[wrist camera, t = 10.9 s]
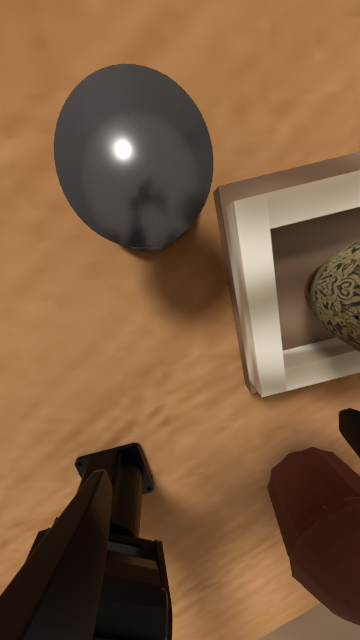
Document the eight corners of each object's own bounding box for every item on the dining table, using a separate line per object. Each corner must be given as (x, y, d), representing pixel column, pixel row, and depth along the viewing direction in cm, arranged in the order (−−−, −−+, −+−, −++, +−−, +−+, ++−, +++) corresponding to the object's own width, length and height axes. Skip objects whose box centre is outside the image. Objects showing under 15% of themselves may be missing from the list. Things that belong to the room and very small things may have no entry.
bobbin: (201, 239, 17) (225, 228, 11) (115, 260, 17) (87, 262, 11) (181, 134, 15) (195, 45, 9) (82, 157, 15) (25, 86, 9)
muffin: (250, 452, 24) (312, 586, 14) (348, 425, 24) (475, 540, 14) (265, 523, 27) (322, 669, 17) (350, 499, 27) (453, 632, 17)
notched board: (363, 354, 21) (408, 375, 17) (245, 384, 21) (264, 412, 17) (367, 155, 16) (431, 123, 12) (213, 192, 16) (229, 172, 12)
